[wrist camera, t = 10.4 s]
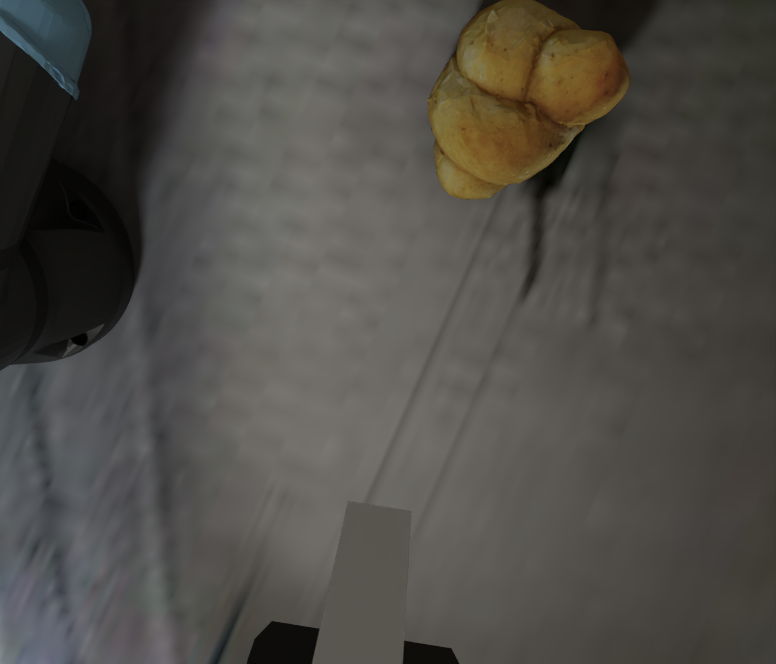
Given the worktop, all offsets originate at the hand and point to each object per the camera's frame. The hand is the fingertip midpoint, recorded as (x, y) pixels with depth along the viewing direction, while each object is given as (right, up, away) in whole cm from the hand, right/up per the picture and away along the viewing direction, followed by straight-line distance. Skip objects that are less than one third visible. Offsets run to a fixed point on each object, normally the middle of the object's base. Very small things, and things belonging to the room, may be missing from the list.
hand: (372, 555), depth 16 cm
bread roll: (+8, +21, +29) cm, 37 cm away
